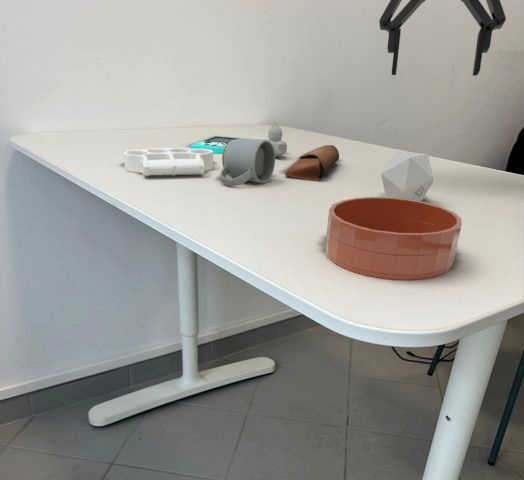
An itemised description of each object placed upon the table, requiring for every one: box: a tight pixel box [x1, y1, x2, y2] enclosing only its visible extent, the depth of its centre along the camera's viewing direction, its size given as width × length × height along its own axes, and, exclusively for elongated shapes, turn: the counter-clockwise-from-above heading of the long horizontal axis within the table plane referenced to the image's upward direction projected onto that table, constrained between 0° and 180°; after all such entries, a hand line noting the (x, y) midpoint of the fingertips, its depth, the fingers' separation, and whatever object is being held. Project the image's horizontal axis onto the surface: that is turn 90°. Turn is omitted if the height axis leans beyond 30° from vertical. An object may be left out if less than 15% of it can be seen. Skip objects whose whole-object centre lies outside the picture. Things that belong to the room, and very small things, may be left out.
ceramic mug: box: [219, 138, 276, 187], centre depth 101 cm, size 11×8×8 cm
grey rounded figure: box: [267, 120, 288, 158], centre depth 122 cm, size 5×7×8 cm
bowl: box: [325, 196, 463, 281], centre depth 69 cm, size 16×16×6 cm
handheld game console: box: [189, 135, 245, 154], centre depth 133 cm, size 10×16×1 cm, turn 162°
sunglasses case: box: [284, 144, 340, 182], centre depth 112 cm, size 18×7×7 cm
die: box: [380, 151, 434, 202], centre depth 91 cm, size 8×9×10 cm
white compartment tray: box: [123, 147, 214, 177], centre depth 109 cm, size 3×18×15 cm
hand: (434, 73), depth 92 cm, fingers open, 13 cm apart
